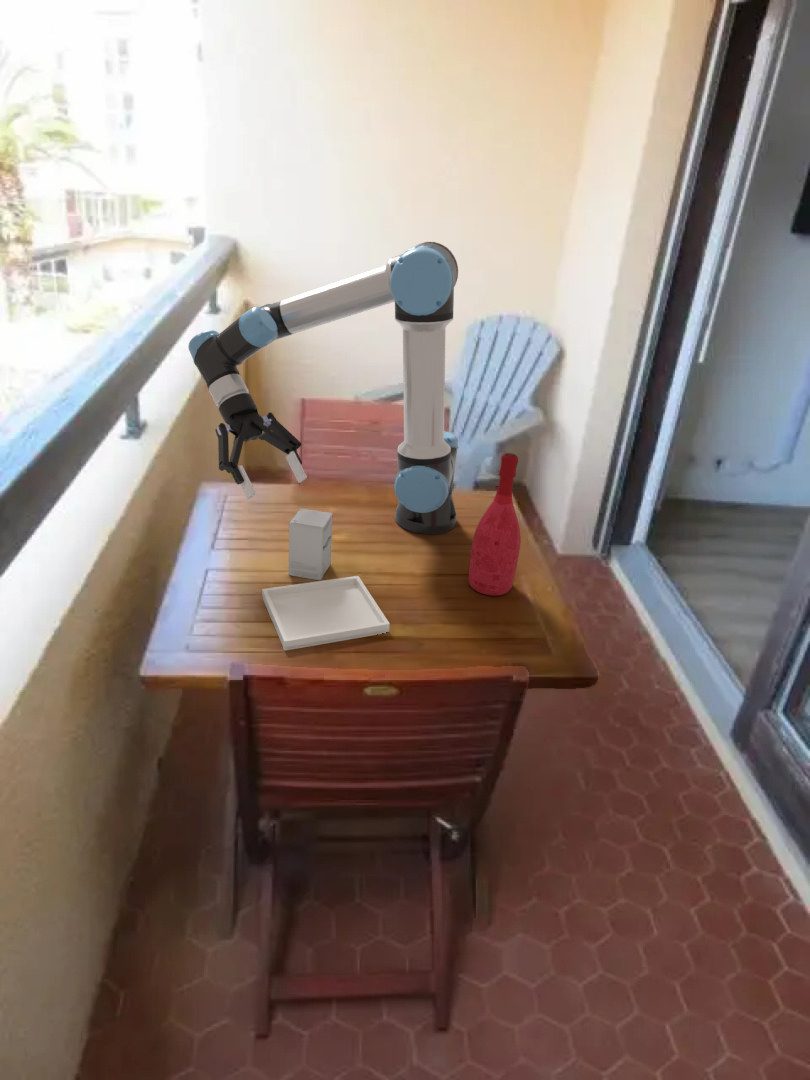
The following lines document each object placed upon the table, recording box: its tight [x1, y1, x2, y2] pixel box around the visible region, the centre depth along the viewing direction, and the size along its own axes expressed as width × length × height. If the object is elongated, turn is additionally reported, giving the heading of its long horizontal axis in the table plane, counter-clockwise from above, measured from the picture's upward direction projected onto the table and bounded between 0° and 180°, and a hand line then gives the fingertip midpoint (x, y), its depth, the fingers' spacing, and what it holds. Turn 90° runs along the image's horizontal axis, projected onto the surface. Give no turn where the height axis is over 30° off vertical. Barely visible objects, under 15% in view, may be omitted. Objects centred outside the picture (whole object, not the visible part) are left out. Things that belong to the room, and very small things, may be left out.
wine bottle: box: [468, 452, 522, 596], centre depth 146 cm, size 10×10×30 cm
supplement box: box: [288, 508, 334, 581], centre depth 150 cm, size 7×7×13 cm
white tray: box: [261, 575, 391, 651], centre depth 138 cm, size 20×18×2 cm
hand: (278, 488), depth 152 cm, fingers open, 13 cm apart
